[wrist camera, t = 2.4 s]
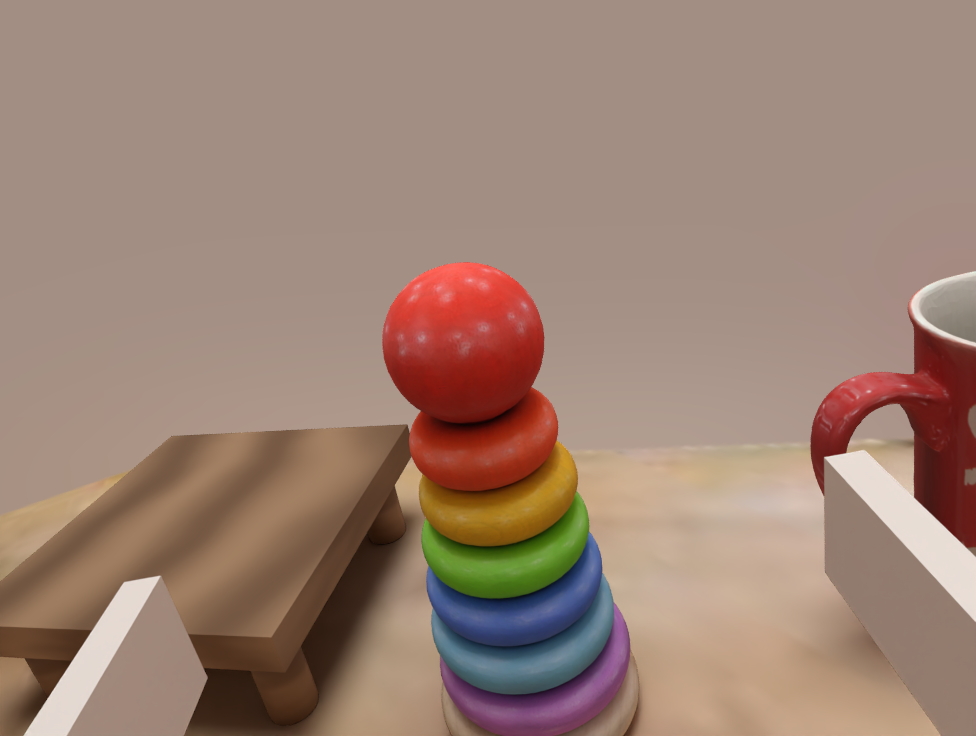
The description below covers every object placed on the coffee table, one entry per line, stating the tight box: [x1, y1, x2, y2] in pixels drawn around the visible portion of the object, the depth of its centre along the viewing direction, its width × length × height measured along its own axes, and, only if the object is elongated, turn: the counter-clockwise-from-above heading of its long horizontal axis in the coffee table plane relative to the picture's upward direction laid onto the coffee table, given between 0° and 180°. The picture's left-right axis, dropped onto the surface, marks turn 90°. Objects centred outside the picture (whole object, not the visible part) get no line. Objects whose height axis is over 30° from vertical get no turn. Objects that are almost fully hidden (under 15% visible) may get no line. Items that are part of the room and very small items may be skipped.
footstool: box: [0, 425, 411, 726], centre depth 37 cm, size 16×16×6 cm
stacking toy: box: [383, 262, 639, 736], centre depth 26 cm, size 8×8×19 cm
